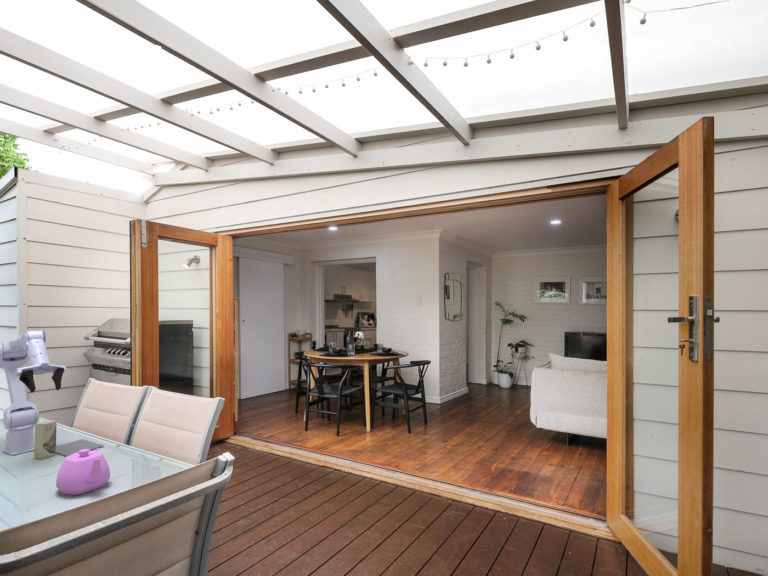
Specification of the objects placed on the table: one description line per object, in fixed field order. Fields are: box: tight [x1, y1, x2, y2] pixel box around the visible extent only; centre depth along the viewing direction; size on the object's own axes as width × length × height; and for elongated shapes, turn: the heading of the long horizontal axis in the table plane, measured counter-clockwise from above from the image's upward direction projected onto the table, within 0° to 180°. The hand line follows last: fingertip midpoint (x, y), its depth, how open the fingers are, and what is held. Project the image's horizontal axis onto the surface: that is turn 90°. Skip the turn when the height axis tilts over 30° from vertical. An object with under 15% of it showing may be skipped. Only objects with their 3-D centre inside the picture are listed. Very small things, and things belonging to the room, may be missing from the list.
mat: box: [56, 438, 105, 458], centre depth 168 cm, size 17×13×1 cm
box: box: [33, 419, 58, 460], centre depth 159 cm, size 5×4×13 cm
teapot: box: [55, 449, 111, 496], centre depth 131 cm, size 20×13×12 cm, turn 56°
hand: (46, 389), depth 151 cm, fingers open, 7 cm apart
